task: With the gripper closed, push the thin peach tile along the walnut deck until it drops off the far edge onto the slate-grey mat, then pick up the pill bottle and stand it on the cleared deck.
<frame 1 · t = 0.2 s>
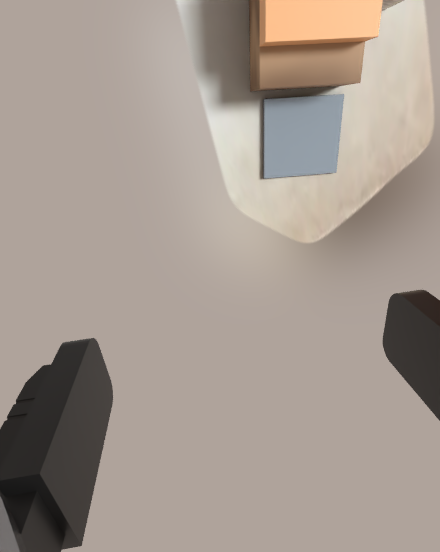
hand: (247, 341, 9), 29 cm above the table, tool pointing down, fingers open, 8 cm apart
deck: (298, 11, 29), on the table
mat: (301, 137, 34), on the table
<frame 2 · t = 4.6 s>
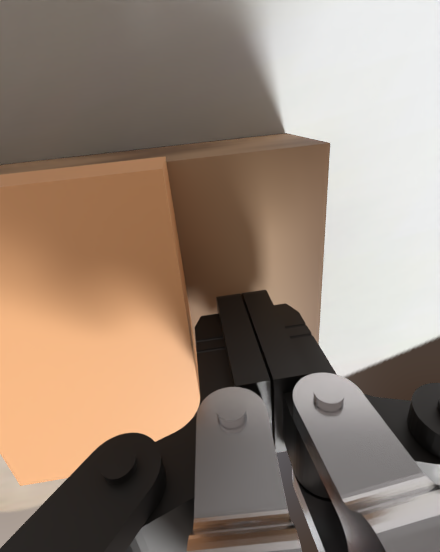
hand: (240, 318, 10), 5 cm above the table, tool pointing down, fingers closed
deck: (147, 263, 14), on the table
thin peach tile: (93, 318, 10), point 4 cm above the table
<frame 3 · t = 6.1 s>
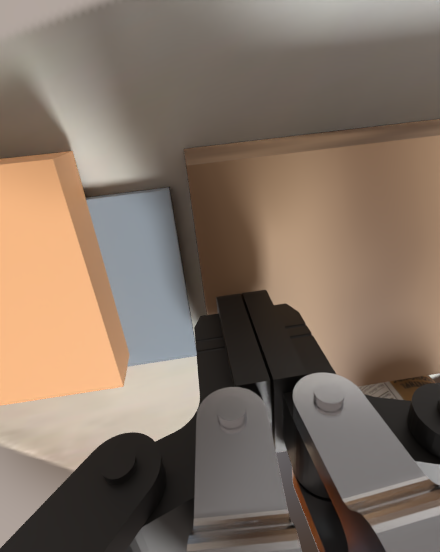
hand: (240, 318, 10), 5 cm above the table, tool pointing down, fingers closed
pill bottle: (359, 361, 18), on the table
deck: (335, 241, 14), on the table
thin peach tile: (6, 305, 11), point 2 cm above the table, tilted 180°, touching mat
mat: (98, 291, 14), on the table
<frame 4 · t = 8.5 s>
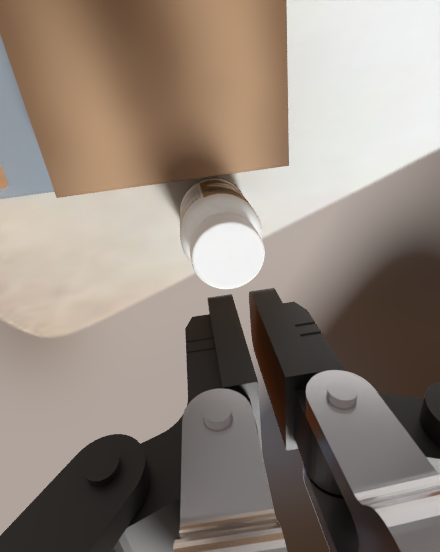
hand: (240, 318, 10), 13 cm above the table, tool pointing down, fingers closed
pill bottle: (212, 209, 22), on the table
deck: (161, 85, 18), on the table
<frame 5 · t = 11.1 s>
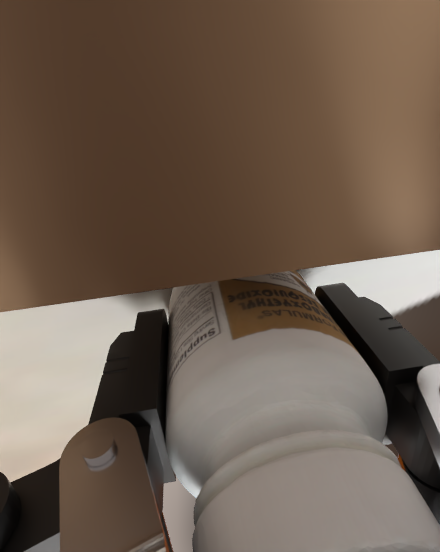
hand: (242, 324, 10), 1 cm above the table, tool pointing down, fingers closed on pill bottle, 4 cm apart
pill bottle: (235, 297, 11), on the table, touching gripper
deck: (123, 30, 7), on the table
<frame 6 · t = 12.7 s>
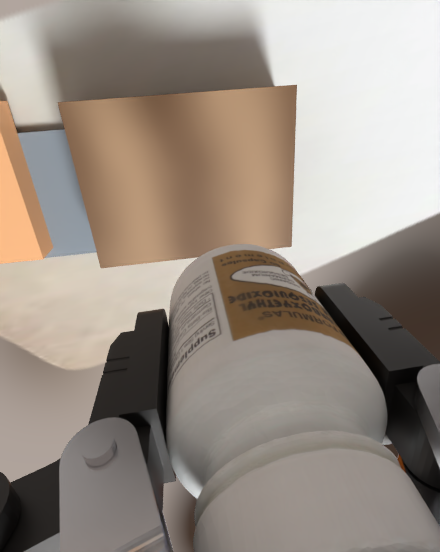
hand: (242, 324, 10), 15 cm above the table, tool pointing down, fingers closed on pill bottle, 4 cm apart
pill bottle: (235, 298, 11), point 13 cm above the table, touching gripper
deck: (187, 172, 22), on the table
mat: (29, 199, 22), on the table
when the fingers open (7 cm above the table, at t = 14.8 s): pill bottle drops 1 cm, resting on deck.
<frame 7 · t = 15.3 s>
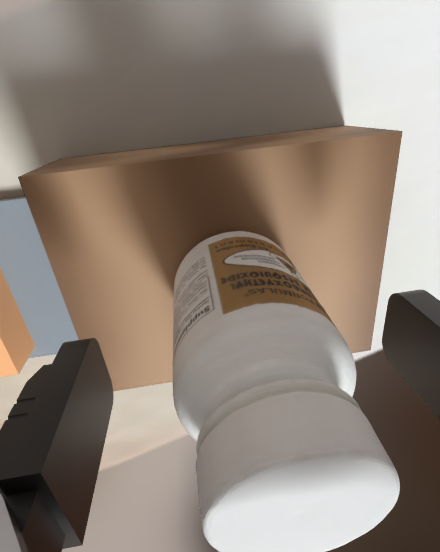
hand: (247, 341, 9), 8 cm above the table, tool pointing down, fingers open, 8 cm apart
pill bottle: (232, 280, 12), point 4 cm above the table, touching deck
deck: (217, 242, 16), on the table
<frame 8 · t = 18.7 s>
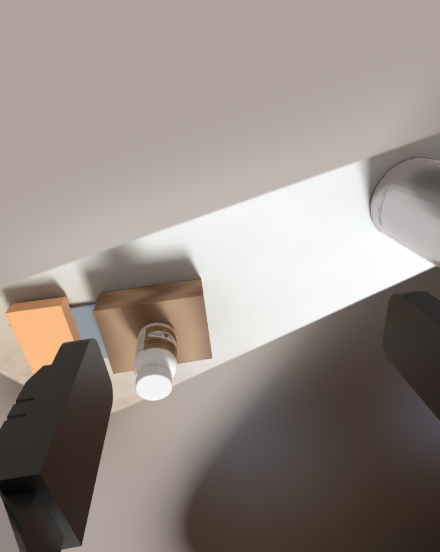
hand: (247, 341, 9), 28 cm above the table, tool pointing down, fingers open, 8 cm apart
pill bottle: (157, 335, 38), point 4 cm above the table, touching deck
deck: (158, 316, 41), on the table
thin peach tile: (46, 341, 38), point 2 cm above the table, tilted 180°, touching mat
mat: (75, 334, 41), on the table
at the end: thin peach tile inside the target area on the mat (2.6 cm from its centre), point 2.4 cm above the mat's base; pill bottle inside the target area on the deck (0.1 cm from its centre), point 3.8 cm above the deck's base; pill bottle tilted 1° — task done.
